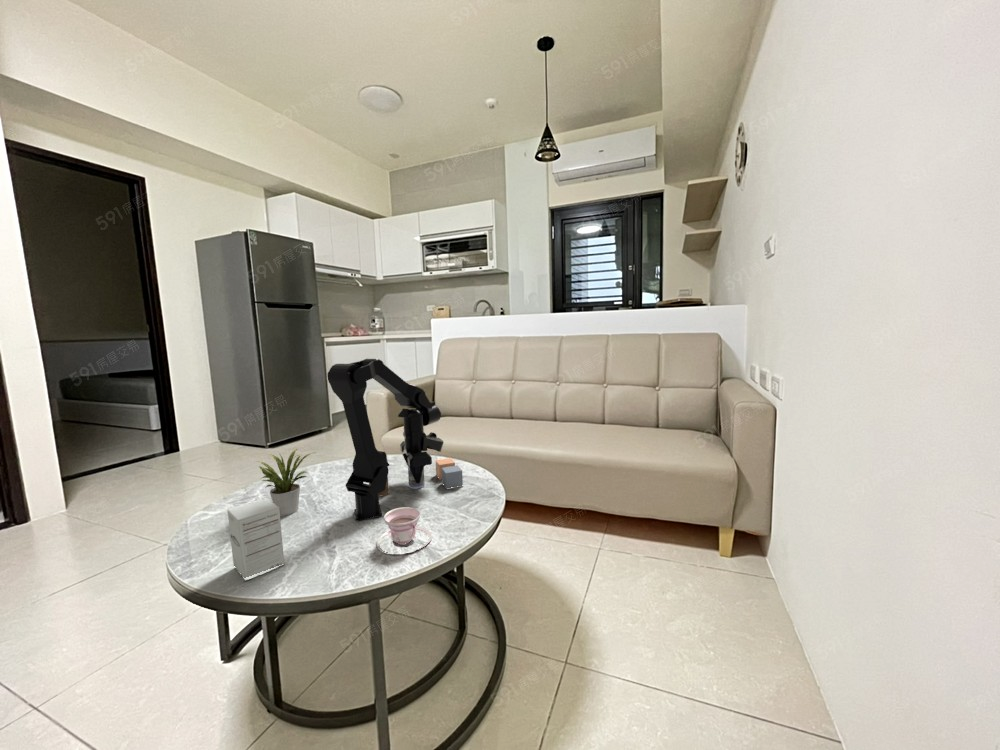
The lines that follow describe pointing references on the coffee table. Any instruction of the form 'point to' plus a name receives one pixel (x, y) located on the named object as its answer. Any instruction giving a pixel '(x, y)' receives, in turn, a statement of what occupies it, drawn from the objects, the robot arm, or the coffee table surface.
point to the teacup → (403, 525)
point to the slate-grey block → (452, 476)
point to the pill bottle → (413, 483)
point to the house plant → (284, 484)
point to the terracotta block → (443, 465)
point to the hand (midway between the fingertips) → (416, 480)
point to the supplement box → (256, 537)
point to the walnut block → (384, 490)
